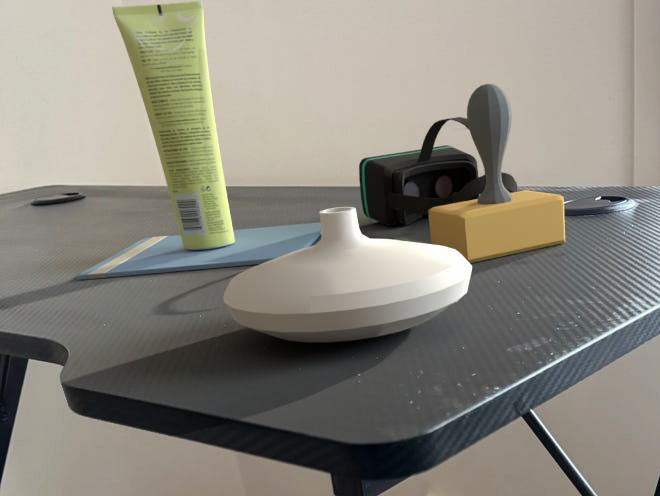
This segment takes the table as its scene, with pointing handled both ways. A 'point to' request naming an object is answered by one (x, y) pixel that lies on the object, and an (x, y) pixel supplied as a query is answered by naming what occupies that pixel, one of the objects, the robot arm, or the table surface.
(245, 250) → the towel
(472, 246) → the rubber stamp
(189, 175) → the tube
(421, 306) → the vase
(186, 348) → the table surface
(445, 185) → the virtual reality headset
